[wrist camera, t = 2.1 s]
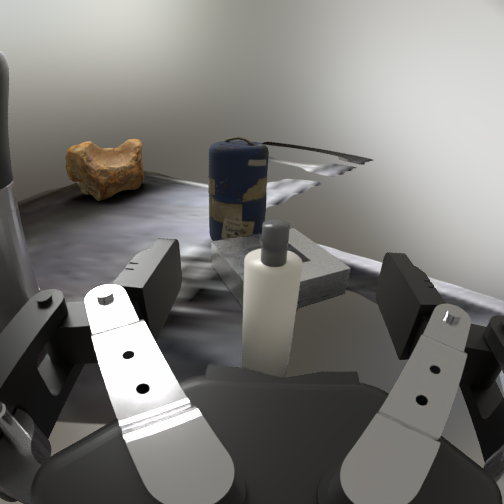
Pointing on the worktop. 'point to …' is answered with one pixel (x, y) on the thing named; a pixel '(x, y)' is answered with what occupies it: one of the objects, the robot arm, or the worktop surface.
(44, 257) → the worktop surface
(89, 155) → the rough brown rock
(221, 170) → the canister
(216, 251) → the grey square socket block
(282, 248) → the capped white bottle
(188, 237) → the worktop surface
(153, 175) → the worktop surface
